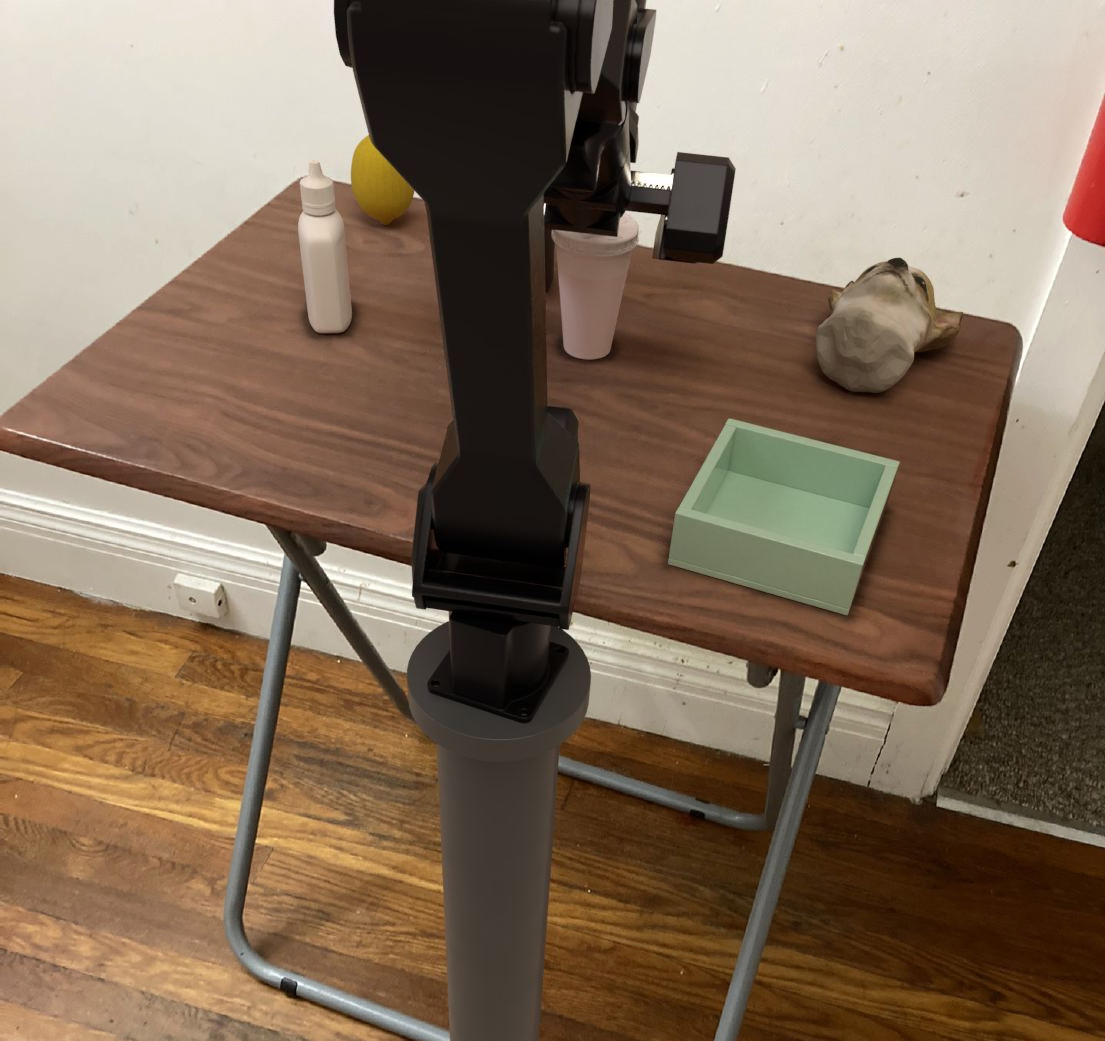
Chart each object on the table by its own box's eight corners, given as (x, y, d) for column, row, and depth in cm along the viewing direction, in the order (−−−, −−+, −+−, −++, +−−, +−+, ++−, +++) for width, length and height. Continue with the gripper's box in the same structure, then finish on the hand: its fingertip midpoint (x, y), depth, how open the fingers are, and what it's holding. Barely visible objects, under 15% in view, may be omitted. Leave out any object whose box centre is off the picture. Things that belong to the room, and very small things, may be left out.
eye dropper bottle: (371, 308, 94) (360, 153, 85) (337, 340, 90) (321, 182, 81) (324, 297, 95) (307, 142, 86) (288, 328, 91) (267, 170, 82)
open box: (847, 616, 71) (863, 564, 68) (667, 564, 74) (675, 512, 71) (884, 511, 78) (900, 461, 75) (719, 468, 81) (728, 417, 78)
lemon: (382, 205, 107) (377, 112, 101) (429, 223, 105) (426, 129, 99) (341, 225, 104) (333, 130, 98) (388, 244, 102) (382, 148, 96)
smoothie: (533, 356, 90) (540, 169, 80) (564, 319, 94) (574, 137, 84) (611, 376, 89) (628, 188, 78) (639, 338, 93) (658, 154, 82)
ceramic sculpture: (799, 270, 82) (862, 207, 92) (773, 383, 88) (835, 313, 98) (946, 312, 79) (995, 243, 89) (908, 426, 85) (958, 349, 95)
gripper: (758, 22, 68) (738, 146, 84) (447, -9, 70) (484, 119, 85) (729, 214, 69) (715, 302, 85) (422, 179, 70) (463, 272, 86)
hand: (594, 244), depth 85 cm, fingers open, 9 cm apart
